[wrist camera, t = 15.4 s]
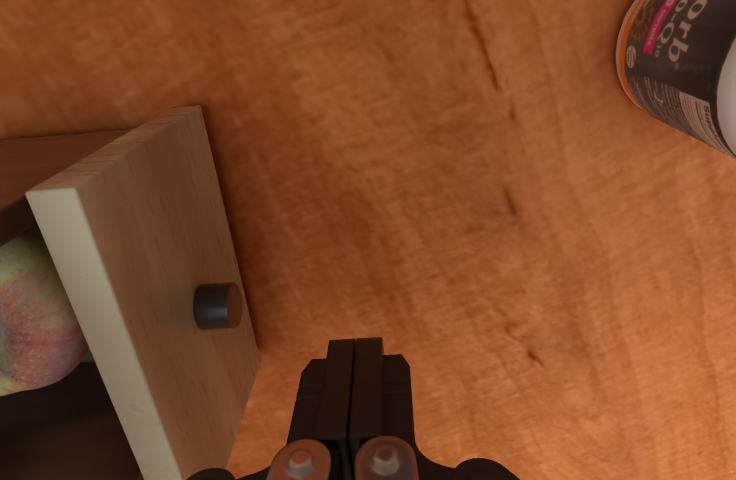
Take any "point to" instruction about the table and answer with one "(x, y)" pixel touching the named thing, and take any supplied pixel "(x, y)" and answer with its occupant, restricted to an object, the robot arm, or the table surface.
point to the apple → (35, 317)
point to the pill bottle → (683, 66)
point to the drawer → (131, 304)
